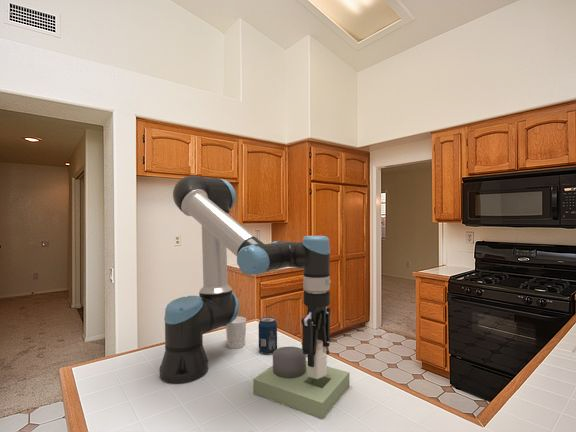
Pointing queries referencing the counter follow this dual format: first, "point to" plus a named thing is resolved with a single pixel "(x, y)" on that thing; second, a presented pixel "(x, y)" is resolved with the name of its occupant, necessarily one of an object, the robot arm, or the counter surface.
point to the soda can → (267, 335)
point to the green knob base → (300, 383)
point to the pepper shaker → (321, 360)
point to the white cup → (236, 333)
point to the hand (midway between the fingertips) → (317, 372)
